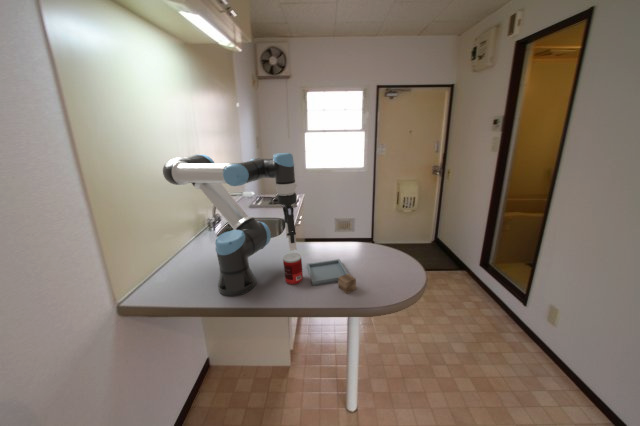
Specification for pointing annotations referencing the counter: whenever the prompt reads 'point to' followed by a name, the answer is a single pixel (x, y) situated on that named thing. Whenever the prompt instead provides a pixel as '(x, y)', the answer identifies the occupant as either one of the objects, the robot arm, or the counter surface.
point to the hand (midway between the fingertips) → (291, 243)
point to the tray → (325, 271)
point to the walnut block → (347, 283)
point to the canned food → (293, 268)
